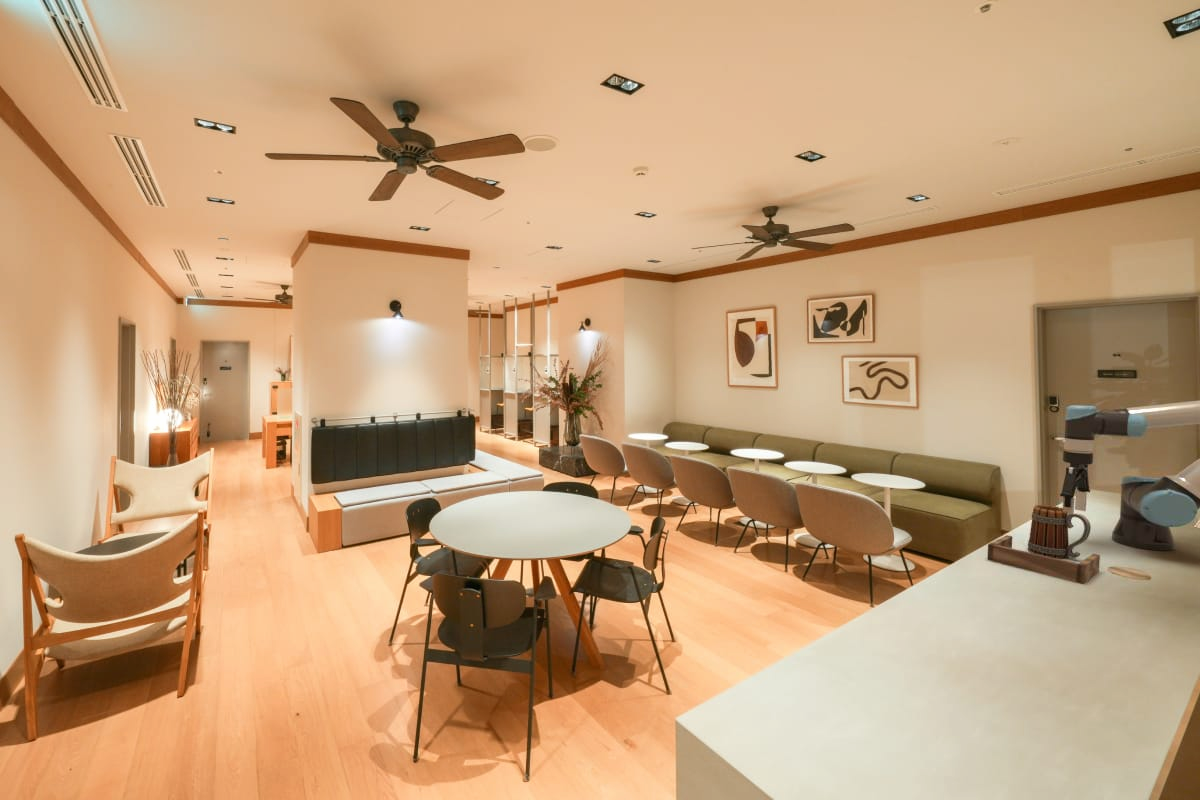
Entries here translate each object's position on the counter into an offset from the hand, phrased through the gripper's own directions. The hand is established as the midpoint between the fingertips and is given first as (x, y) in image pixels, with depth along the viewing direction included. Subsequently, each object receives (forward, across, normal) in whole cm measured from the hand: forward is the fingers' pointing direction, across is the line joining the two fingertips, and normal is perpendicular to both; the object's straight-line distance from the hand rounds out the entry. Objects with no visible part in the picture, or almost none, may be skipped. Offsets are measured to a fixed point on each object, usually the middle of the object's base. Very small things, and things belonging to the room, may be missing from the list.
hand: (1074, 513), depth 181 cm
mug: (+11, +17, 0) cm, 20 cm away
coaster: (+11, +19, +18) cm, 28 cm away
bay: (+11, +31, 0) cm, 33 cm away
